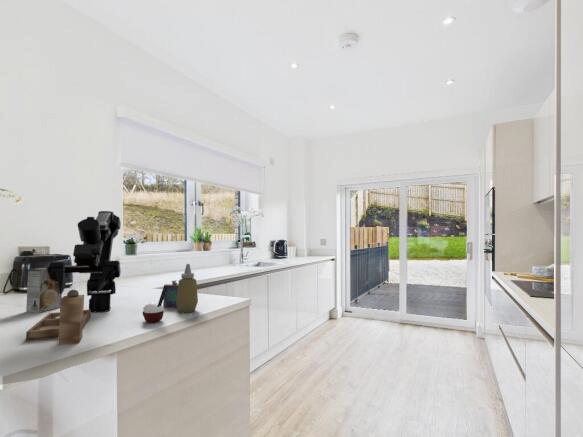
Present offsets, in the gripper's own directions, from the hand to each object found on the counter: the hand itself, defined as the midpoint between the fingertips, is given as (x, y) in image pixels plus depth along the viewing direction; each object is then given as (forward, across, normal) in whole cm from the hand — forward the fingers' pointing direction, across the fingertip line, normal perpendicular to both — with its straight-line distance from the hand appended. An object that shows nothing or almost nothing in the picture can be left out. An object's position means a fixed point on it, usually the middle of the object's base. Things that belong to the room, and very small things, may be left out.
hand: (79, 292), depth 91 cm
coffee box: (-20, -21, +38) cm, 48 cm away
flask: (-12, +26, +29) cm, 41 cm away
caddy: (+1, -6, +16) cm, 17 cm away
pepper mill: (+13, 0, +4) cm, 14 cm away
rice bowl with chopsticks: (+3, +20, +14) cm, 25 cm away
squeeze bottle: (-5, +31, +22) cm, 38 cm away
